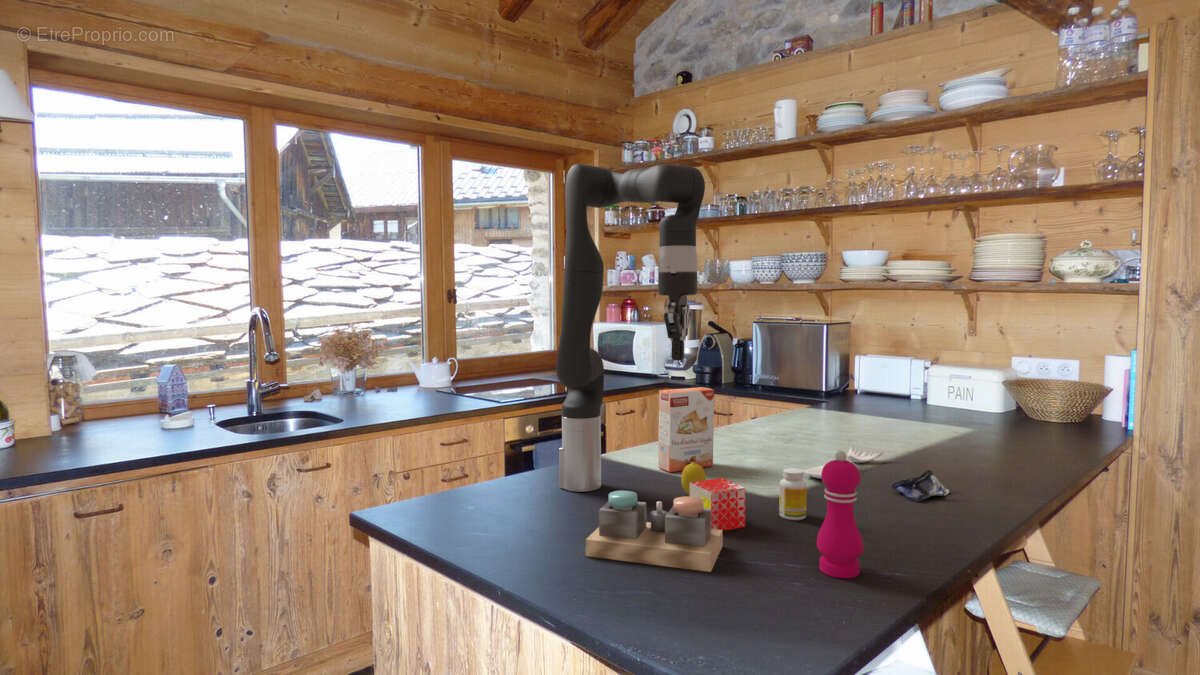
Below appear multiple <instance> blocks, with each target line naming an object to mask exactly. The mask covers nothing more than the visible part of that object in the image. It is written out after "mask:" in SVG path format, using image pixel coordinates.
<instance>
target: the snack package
mask: <svg viewBox="0 0 1200 675" xmlns="http://www.w3.org/2000/svg"><path fill="white" fill-rule="evenodd" d="M891 487H892V490H896V491H899V492H900V493H901V494H902V495H903V496H904V498H905V499H907V500H909V501H914V502H917V503H920V502H921V501H923V500H926V499H929V498H930V497H943V496H947V495H948V494H949V493H950V490H949V489H948V488H946V487H945V486H944V484H943V483H942V482H941V481H940V480H939V479H938V478H937V476H936V475H935V474H934V473H933V471H932V470H926V471H925V472H923V473H922V474H921V475H920V473H917V477H910V478H907V479H901V480H899V481H898V482H895V483H893V484H892V486H891Z"/></svg>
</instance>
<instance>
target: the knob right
mask: <svg viewBox="0 0 1200 675" xmlns="http://www.w3.org/2000/svg"><path fill="white" fill-rule="evenodd" d="M673 506H674V511H675V512H677V513H679V516H685V517H695V518H698V514H699V513H702V512H703V500H702V499H700V498H697V497H690V495H688V496H678V497H675V498H674V499H673Z"/></svg>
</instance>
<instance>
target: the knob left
mask: <svg viewBox="0 0 1200 675" xmlns="http://www.w3.org/2000/svg"><path fill="white" fill-rule="evenodd" d="M608 501H609V505H610V506H612V507H614V509H616V510H626V511H632V507H634V506H636V505H637V502H638V494H637V492H635V491H630V490H614V491H611V492H609V493H608Z"/></svg>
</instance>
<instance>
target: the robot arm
mask: <svg viewBox="0 0 1200 675" xmlns="http://www.w3.org/2000/svg"><path fill="white" fill-rule="evenodd" d="M564 187H565V188H564V190H565V191H564V192H565V194H564V196H565V197H564V198H565V200H564V201H565V220H566V221H565V223H566V224H565V227H566V228H565V229H566V231H565V233H566V235H565V255H564V266H563V267H564V268H563V282H562V283H563V284H562V290H563V291H562V308H561V311H562V312H561V328H560V337H559V343H558V349H557V354H556V362H555V364H556V365H555V369H556V370H555V372H556V375H557V378H558V381H559V382H560V383H561V384H562V386H564V387H565V388H566V389H567V394H566V397H565V399H564V401H563V403H562V404H561V447H559V449H558V471H559V472H558V473H559V479H558V480H559V482H558V484H559V489H564V490H566V491H569V492H570V491H571V492H580V493H581V492H583V493H585V492H593V491H596V490H598V489H600V488H601V487H602V454H601V453H602V444H601V443H602V440H601V438H602V436H601V434H602V432H601V427H602V426H601V424H602V423H601V409H602V405H603V403H604V402H603V401H604V388H605V387H604V385H605V382H604V381H605V371H604V370H605V368H604V362H603V359H602V357H601V355H600V353H599V352H598V351H597V350H595V349H594V348H591V336H592V335H591V334H592V326H593V324H594V319H595V317H596V315H597V312H598V308H599V306H600V303H601V299H602V295H603V290H604V289H603V288H604V287H603V286H604V272H605V266H604V262H603V258H602V255H601V253H600V250H599V248H598V247H597V245H596V243H595V240H594V239H593V237H592V235H591V232H590V229H589V225H588V215H587V214H588V213H587V212H588V211H587V210H588V208H597V209H599V208H601V209H602V208H607V207H610V206H614V205H617V204H620V203H625V202H628V203H637V204H638V203H641V204H642V203H647V204H653V203H657V202H658V203H659V202H660V203H673V204H677V207H676V211H675V213H674V214H671V215H667V216H663V217H662V218H661V219H660V221H659V227H658V228H659V230H658V231H659V233H658V234H659V248H658V250H659V252H658V259H657V260H658V261H657V264H658V266H657V276H658V279H657V281H658V282H657V283H658V286H657V288H658V290H657V292H658V295H660V296H667V297H668V298H667V305H665V312H664V314H663V319H664V323H665V327H666V333H667V338H668V339H669V340H670V341H671V360H672V361H683V360H684V359H685V341H686V338H687V337H688V335H689V327H690V322H691V321H690V320H691V315H692V312H691V311H690V308H691V305H690V304H688V298H687V297H688V296H695V295H697V293H698V253H697V225H698V224H697V223H698V220H699V216H700V212H701V208H702V205H703V200H704V196H705V190H706V182H705V179H704V175H703V173H702V171H701V170H700V169H698V168H697V167H694V166H686V165H679V164H678V165H677V164H669V163H666V164H656V165H653V166H650V167H649V166H648V167H638V168H637V167H635V168H631V169H628V170H626V171H625V172H623V173H621V172H617V171H613V170H612V169H607V168H605V167H602V166H595V165H588V164H582V163H581V164H580V163H575V164H573V165H572V166H571V167H570V169H569V170H568V173H567V175H566V179H565V186H564Z"/></svg>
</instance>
